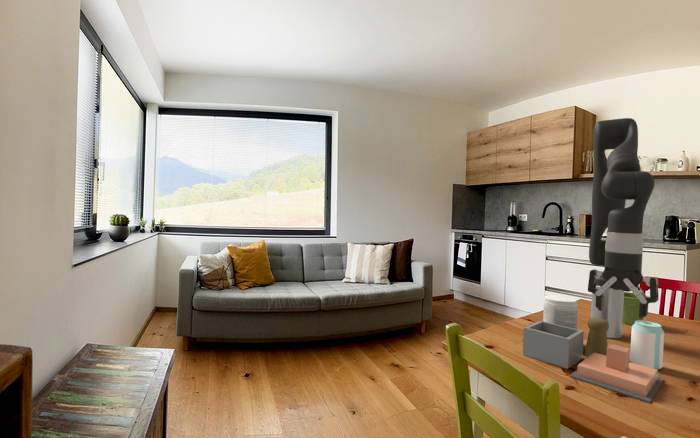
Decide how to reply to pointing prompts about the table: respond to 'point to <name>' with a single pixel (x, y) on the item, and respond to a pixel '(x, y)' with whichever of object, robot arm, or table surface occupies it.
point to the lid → (618, 370)
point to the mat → (622, 391)
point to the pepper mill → (597, 337)
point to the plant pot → (631, 308)
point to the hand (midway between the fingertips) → (620, 313)
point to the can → (647, 344)
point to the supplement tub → (560, 311)
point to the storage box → (553, 343)
